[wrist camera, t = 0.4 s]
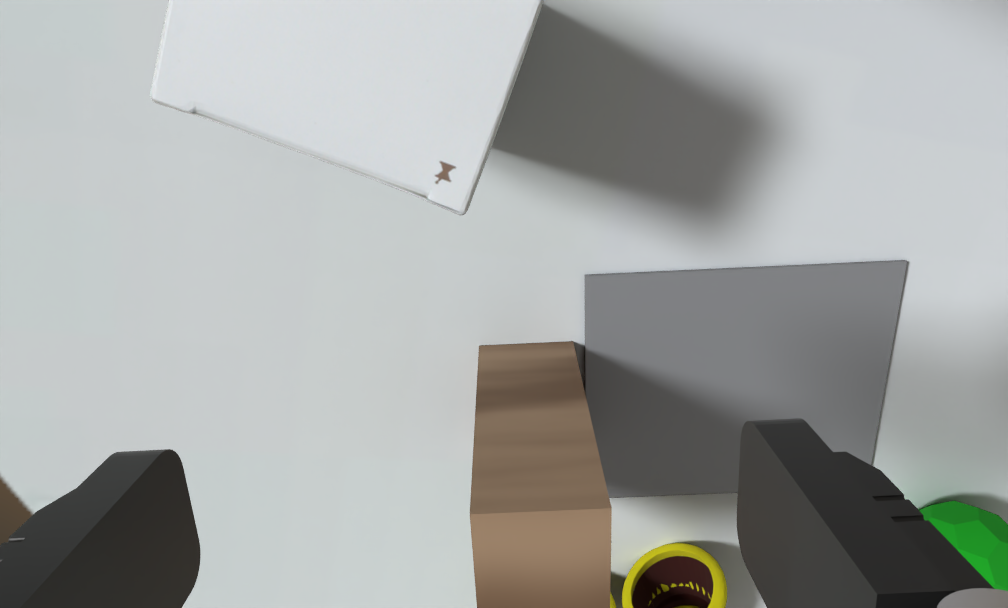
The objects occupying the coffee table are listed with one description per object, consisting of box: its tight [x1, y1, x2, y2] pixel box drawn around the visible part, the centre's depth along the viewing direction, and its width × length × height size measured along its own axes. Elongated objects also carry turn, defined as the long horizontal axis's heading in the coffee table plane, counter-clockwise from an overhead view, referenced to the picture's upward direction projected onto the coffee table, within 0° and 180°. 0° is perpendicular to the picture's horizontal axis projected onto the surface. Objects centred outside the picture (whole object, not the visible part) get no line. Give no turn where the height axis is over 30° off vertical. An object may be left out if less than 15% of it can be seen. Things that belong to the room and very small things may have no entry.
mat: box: [585, 260, 907, 498], centre depth 31 cm, size 11×13×1 cm
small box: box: [150, 0, 544, 215], centre depth 21 cm, size 8×6×10 cm
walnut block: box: [470, 341, 611, 608], centre depth 26 cm, size 5×4×11 cm
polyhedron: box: [919, 501, 1008, 591], centre depth 32 cm, size 5×5×5 cm
